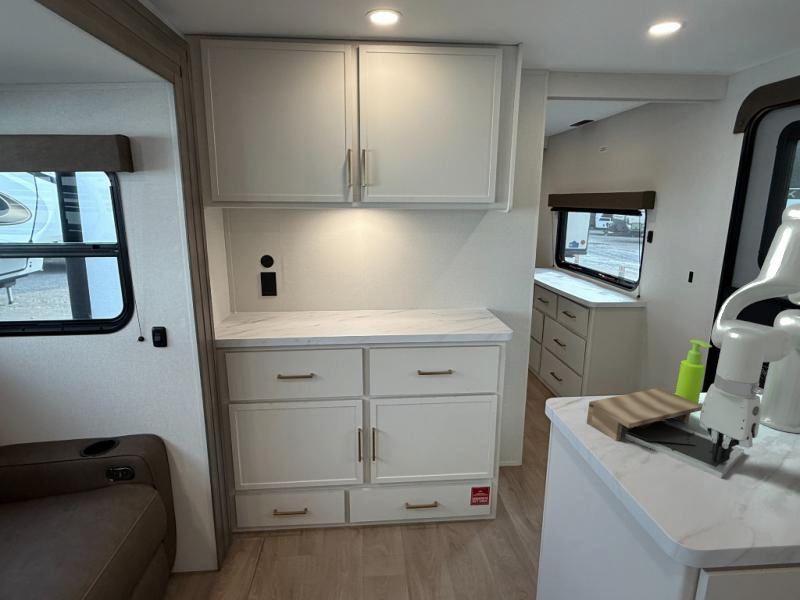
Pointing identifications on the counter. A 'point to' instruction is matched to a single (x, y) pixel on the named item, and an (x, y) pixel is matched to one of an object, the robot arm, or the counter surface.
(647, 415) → the walnut shelf
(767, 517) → the counter surface
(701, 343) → the soap dispenser
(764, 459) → the counter surface
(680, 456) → the picture frame
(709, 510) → the counter surface
